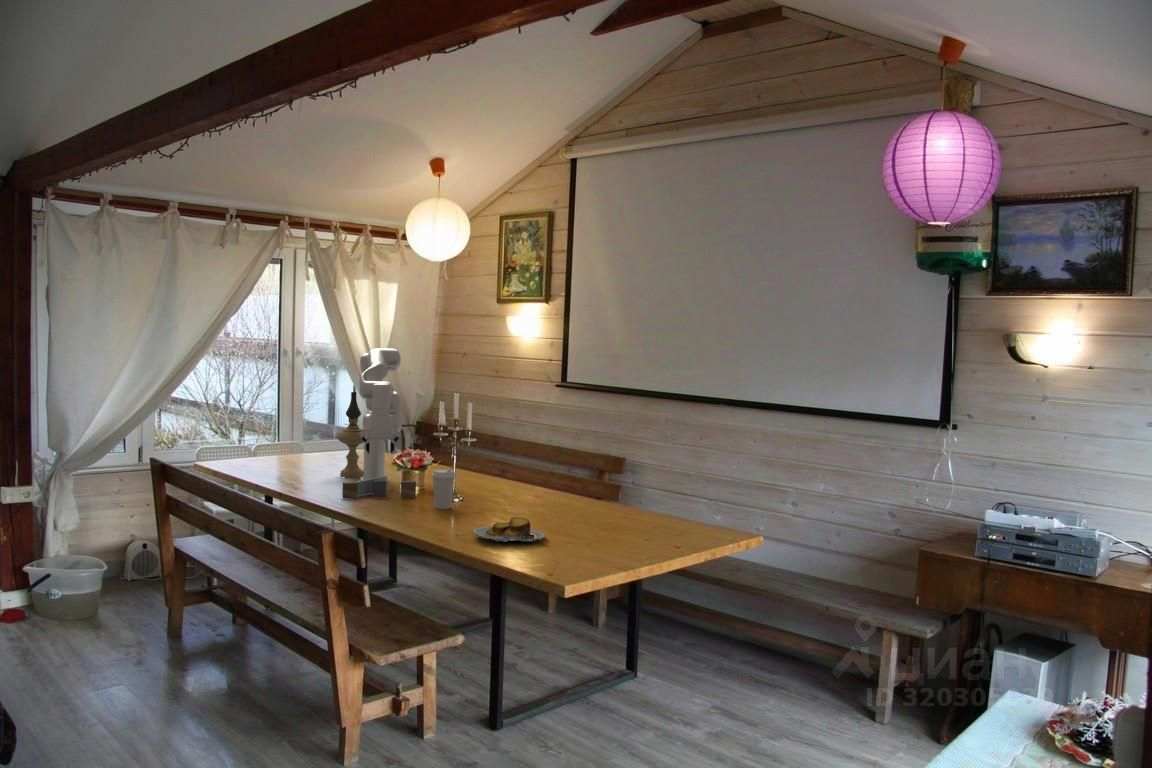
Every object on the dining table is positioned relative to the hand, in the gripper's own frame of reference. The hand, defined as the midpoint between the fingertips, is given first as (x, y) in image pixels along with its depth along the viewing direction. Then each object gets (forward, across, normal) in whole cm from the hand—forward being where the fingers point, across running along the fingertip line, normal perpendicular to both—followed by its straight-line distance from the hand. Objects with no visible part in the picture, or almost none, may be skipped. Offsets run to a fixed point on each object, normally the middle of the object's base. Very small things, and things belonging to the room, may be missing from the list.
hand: (379, 452), depth 367 cm
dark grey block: (+18, 0, +2) cm, 18 cm away
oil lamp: (+19, +8, -45) cm, 50 cm away
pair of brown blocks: (+18, 0, +5) cm, 19 cm away
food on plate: (+18, -38, +81) cm, 91 cm away
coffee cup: (+18, -23, +28) cm, 40 cm away
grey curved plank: (+18, +3, -4) cm, 18 cm away
